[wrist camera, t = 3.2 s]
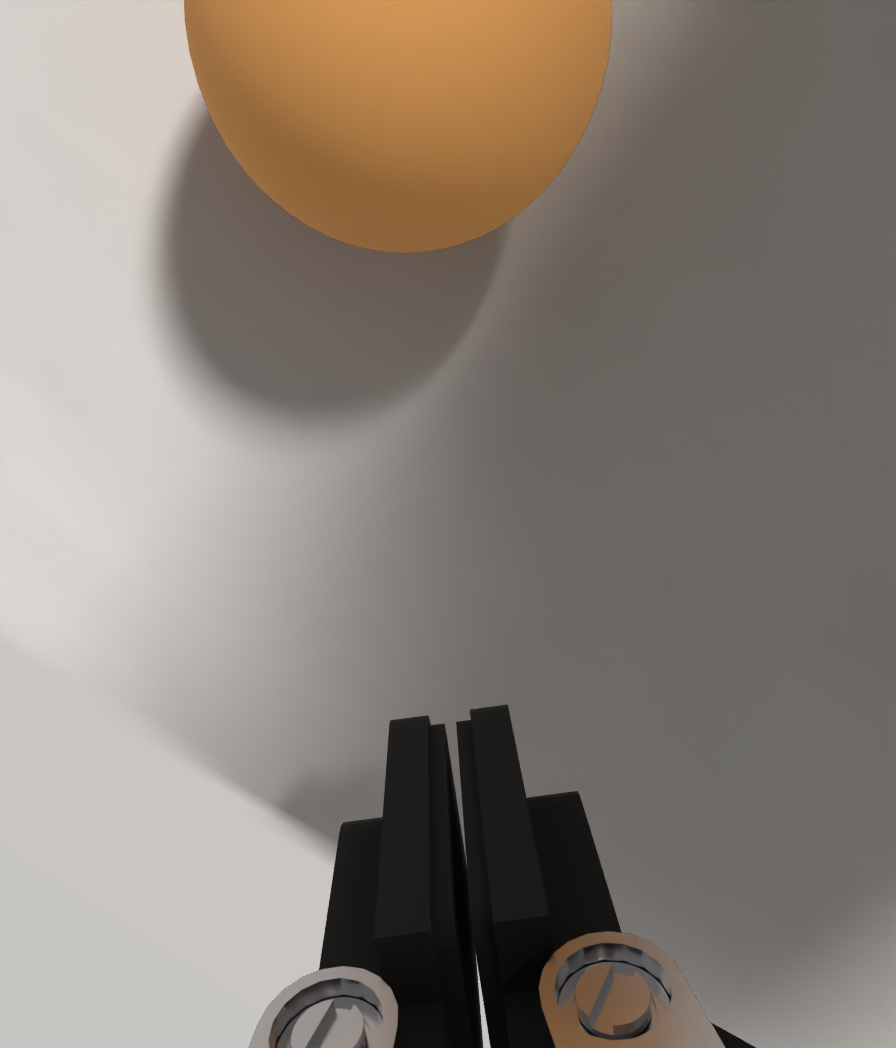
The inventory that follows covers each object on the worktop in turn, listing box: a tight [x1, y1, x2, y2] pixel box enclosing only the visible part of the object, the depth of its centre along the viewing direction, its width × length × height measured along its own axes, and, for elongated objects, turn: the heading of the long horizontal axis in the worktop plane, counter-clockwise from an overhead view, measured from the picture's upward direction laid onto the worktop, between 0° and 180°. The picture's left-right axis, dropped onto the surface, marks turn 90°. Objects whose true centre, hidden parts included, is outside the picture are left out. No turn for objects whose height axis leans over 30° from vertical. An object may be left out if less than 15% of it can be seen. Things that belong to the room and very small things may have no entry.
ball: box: [184, 0, 612, 253], centre depth 11 cm, size 6×6×6 cm
